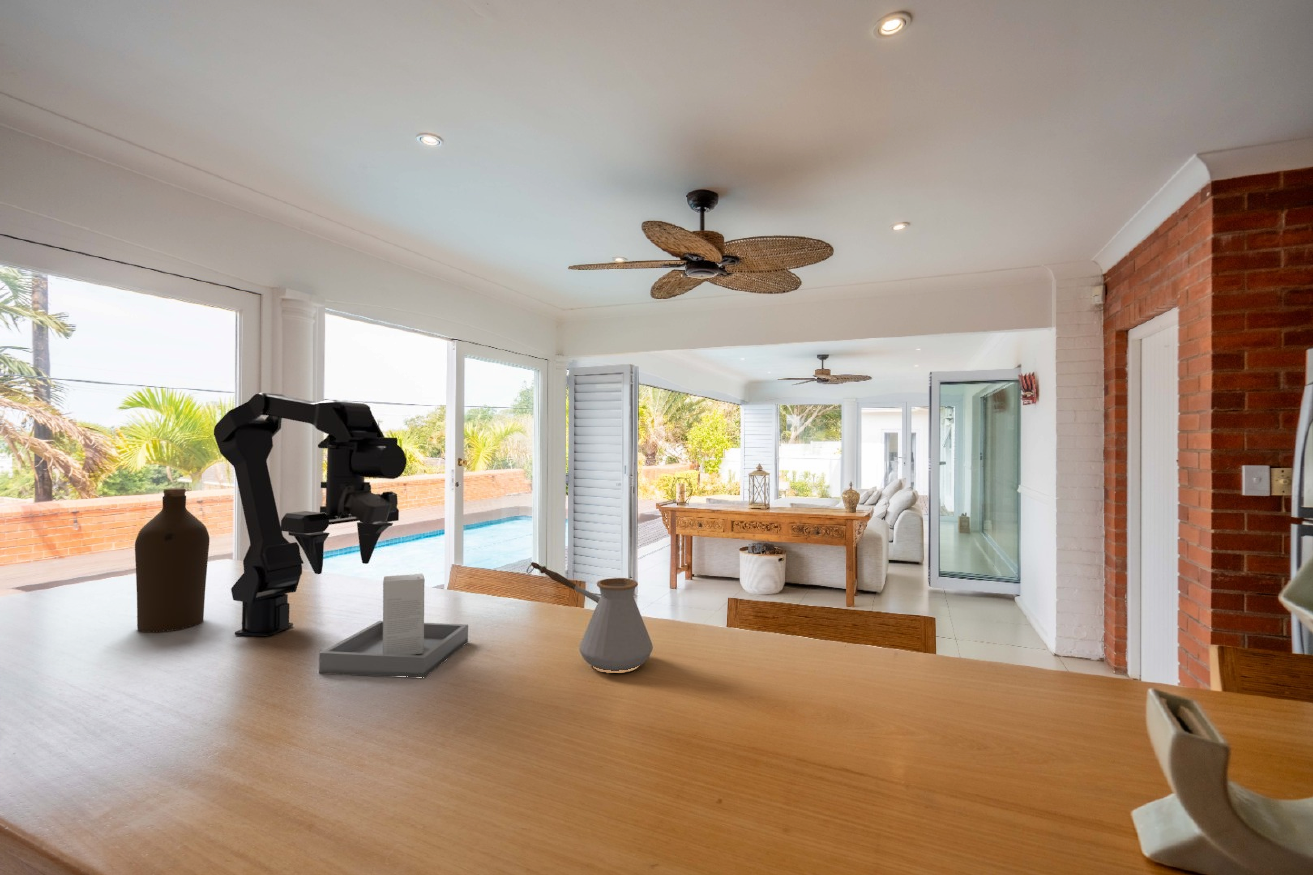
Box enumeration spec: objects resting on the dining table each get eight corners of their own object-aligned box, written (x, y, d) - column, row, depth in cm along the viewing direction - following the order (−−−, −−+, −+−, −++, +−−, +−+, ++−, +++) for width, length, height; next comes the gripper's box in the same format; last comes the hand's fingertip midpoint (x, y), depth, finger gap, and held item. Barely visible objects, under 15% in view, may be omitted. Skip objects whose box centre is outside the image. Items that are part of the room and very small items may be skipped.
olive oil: (219, 621, 111) (222, 488, 111) (150, 637, 101) (153, 491, 102) (189, 613, 116) (192, 485, 116) (121, 628, 106) (124, 488, 107)
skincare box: (422, 645, 97) (424, 572, 97) (423, 654, 93) (425, 578, 94) (382, 650, 95) (383, 575, 95) (381, 659, 91) (383, 581, 91)
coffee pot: (661, 656, 96) (662, 564, 97) (639, 683, 85) (640, 579, 86) (543, 642, 103) (545, 555, 103) (508, 665, 92) (510, 568, 92)
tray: (319, 673, 87) (319, 652, 87) (378, 637, 103) (379, 620, 103) (423, 678, 86) (424, 657, 86) (467, 642, 102) (468, 624, 102)
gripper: (331, 481, 88) (327, 586, 88) (423, 476, 106) (420, 563, 106) (280, 477, 93) (276, 577, 93) (377, 473, 110) (374, 557, 110)
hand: (342, 568), depth 100 cm, fingers open, 9 cm apart
